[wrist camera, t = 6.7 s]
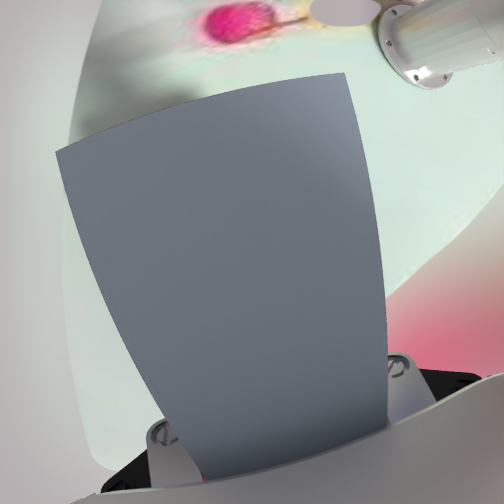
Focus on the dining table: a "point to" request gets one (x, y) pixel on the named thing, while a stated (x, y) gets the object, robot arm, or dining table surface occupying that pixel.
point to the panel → (242, 268)
